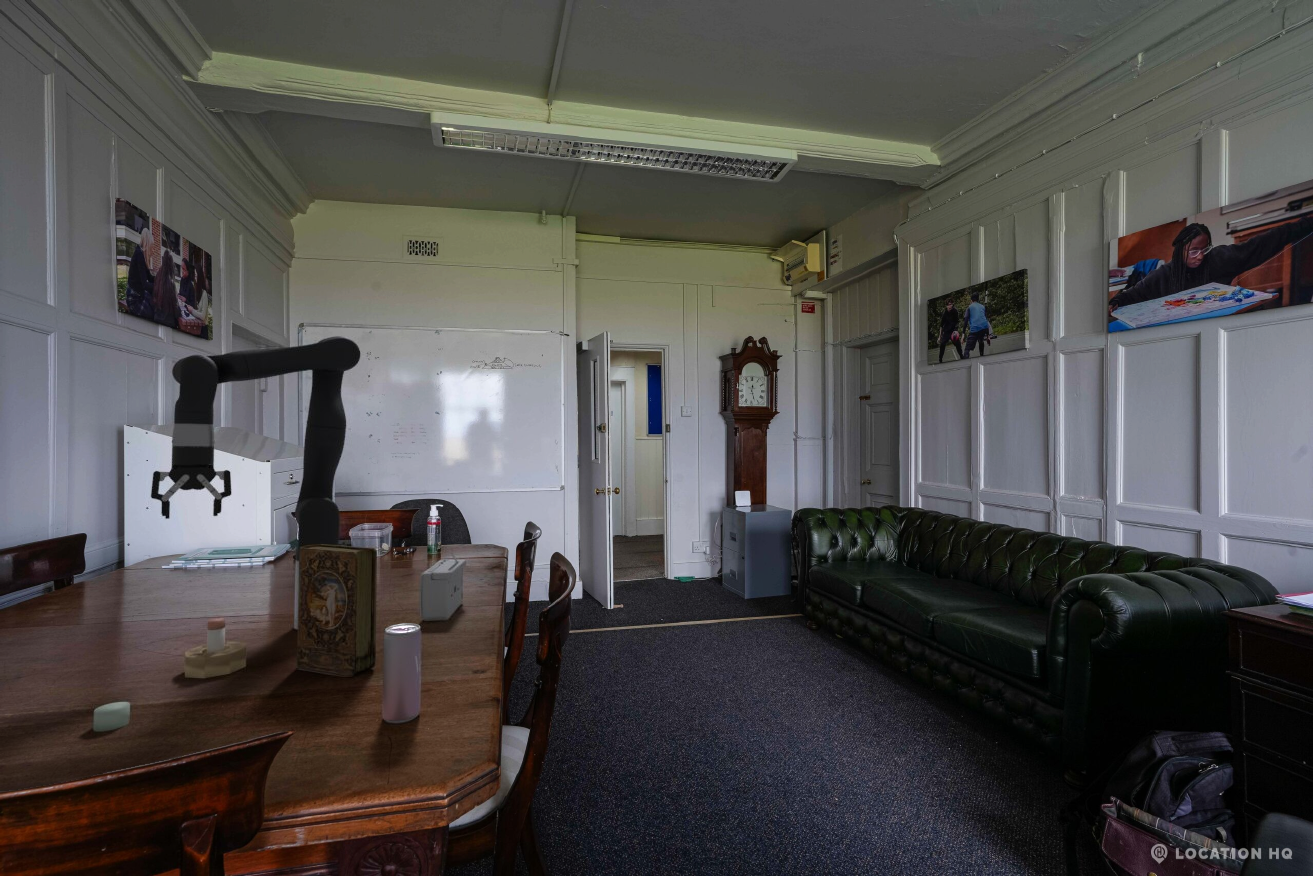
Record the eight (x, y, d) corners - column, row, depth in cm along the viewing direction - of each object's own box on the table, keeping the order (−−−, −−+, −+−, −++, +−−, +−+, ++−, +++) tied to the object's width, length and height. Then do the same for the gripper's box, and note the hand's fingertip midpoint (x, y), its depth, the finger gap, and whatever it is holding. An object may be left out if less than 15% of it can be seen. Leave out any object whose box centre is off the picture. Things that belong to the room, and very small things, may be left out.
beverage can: (389, 709, 106) (390, 623, 106) (424, 708, 107) (425, 623, 107) (376, 725, 100) (378, 633, 101) (413, 724, 101) (415, 633, 101)
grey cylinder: (223, 665, 127) (224, 617, 128) (224, 669, 125) (226, 620, 125) (205, 668, 125) (207, 619, 126) (206, 672, 123) (207, 623, 123)
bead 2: (242, 657, 132) (242, 638, 132) (247, 670, 125) (247, 650, 125) (184, 667, 126) (184, 648, 126) (185, 681, 118) (186, 661, 118)
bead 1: (130, 717, 103) (130, 699, 103) (128, 727, 99) (129, 708, 99) (94, 724, 100) (95, 706, 100) (91, 734, 96) (92, 715, 96)
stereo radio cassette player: (437, 603, 180) (438, 536, 181) (466, 603, 181) (467, 535, 182) (417, 623, 160) (419, 547, 160) (450, 622, 161) (451, 546, 161)
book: (292, 668, 126) (294, 547, 126) (315, 660, 131) (317, 543, 132) (354, 678, 120) (356, 552, 121) (375, 669, 126) (377, 548, 126)
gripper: (230, 445, 144) (229, 513, 143) (152, 444, 135) (150, 517, 134) (233, 445, 138) (231, 516, 137) (152, 444, 129) (150, 520, 128)
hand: (191, 517), depth 136 cm, fingers open, 8 cm apart
